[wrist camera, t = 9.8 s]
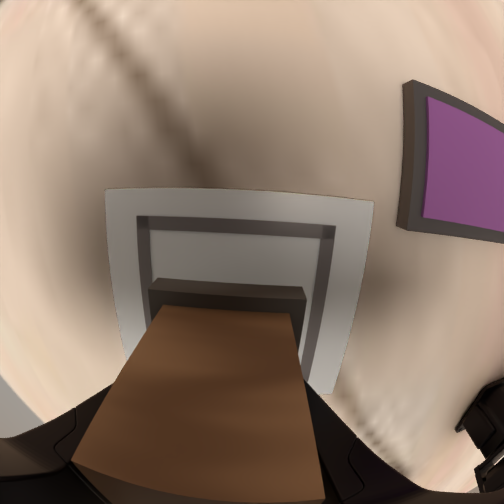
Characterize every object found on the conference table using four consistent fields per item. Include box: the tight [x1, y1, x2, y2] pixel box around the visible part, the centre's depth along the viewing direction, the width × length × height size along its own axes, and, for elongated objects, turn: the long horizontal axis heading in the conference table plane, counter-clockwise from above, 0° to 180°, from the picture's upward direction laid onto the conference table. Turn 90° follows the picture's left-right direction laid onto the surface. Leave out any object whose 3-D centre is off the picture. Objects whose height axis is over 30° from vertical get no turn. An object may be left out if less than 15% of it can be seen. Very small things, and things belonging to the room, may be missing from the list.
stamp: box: [71, 278, 325, 504], centre depth 6 cm, size 5×5×7 cm
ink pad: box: [396, 80, 504, 244], centre depth 10 cm, size 9×7×1 cm
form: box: [105, 188, 374, 395], centre depth 12 cm, size 12×11×1 cm
